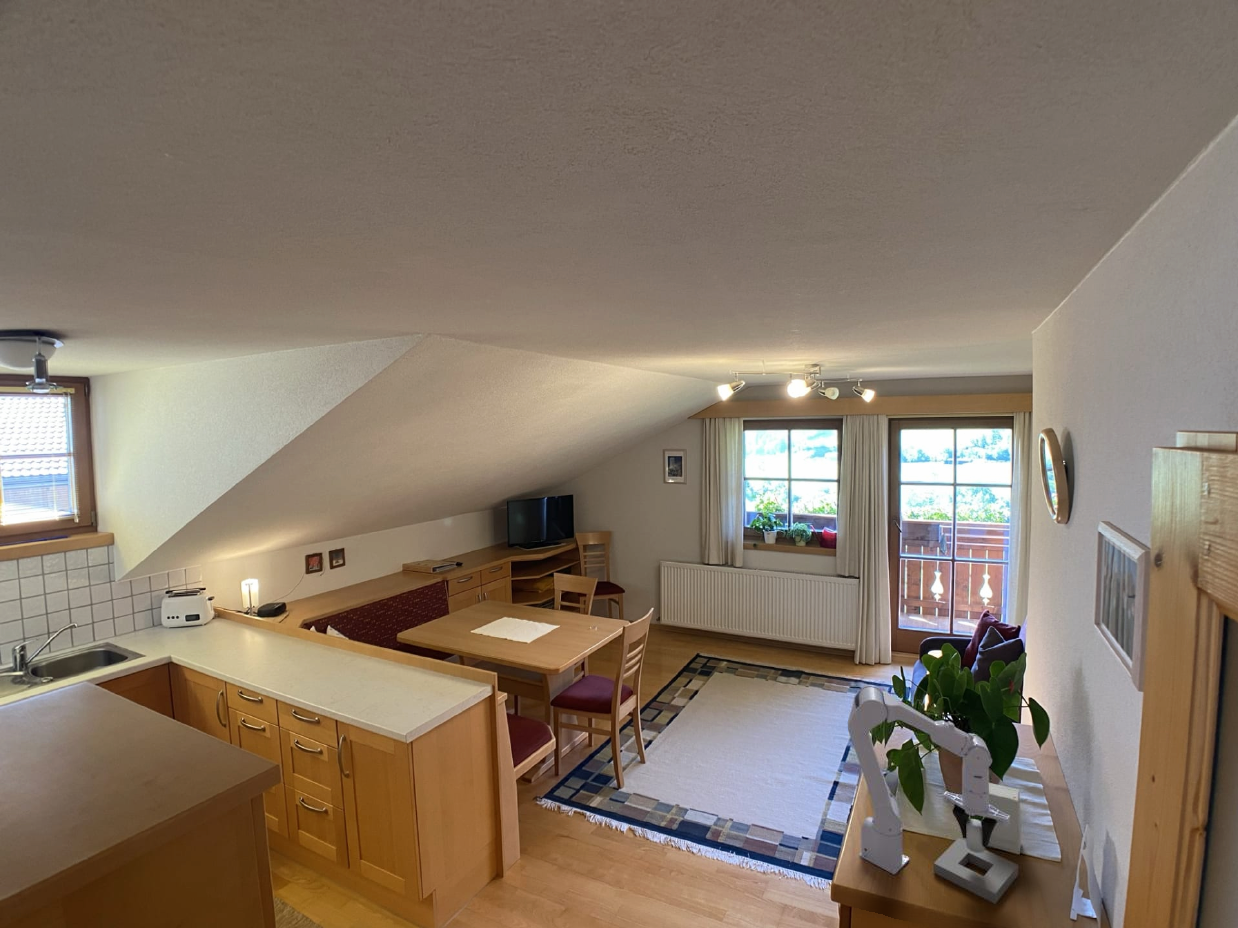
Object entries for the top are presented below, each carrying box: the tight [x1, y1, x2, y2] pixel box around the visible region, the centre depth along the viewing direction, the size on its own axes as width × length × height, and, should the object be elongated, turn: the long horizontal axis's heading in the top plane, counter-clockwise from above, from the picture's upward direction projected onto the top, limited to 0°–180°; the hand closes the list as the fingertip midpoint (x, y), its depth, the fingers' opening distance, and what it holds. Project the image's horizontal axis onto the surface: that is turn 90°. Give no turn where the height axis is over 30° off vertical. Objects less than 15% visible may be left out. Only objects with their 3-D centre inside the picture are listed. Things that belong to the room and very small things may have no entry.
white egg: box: [965, 818, 986, 853], centre depth 159 cm, size 4×4×6 cm
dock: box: [933, 837, 1019, 905], centre depth 160 cm, size 14×14×2 cm
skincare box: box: [982, 782, 1022, 855], centre depth 169 cm, size 8×6×15 cm
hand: (975, 840), depth 159 cm, fingers closed on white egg, 4 cm apart
